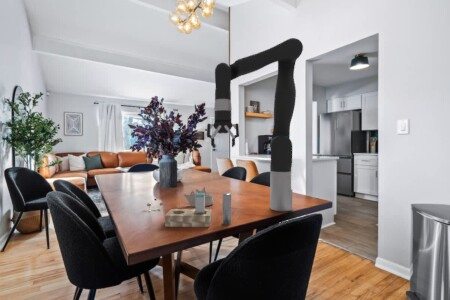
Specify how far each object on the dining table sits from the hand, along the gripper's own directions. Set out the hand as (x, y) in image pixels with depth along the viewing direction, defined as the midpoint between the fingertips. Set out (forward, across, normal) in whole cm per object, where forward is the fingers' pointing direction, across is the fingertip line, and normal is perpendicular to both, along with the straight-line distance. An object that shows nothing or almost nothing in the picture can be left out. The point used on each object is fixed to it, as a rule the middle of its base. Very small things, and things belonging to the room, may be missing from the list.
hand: (223, 147), depth 106 cm
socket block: (+28, +12, +18) cm, 35 cm away
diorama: (+29, +33, -8) cm, 45 cm away
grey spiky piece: (+28, +11, -10) cm, 32 cm away
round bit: (+28, -2, +18) cm, 33 cm away
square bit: (+28, +8, +18) cm, 34 cm away
